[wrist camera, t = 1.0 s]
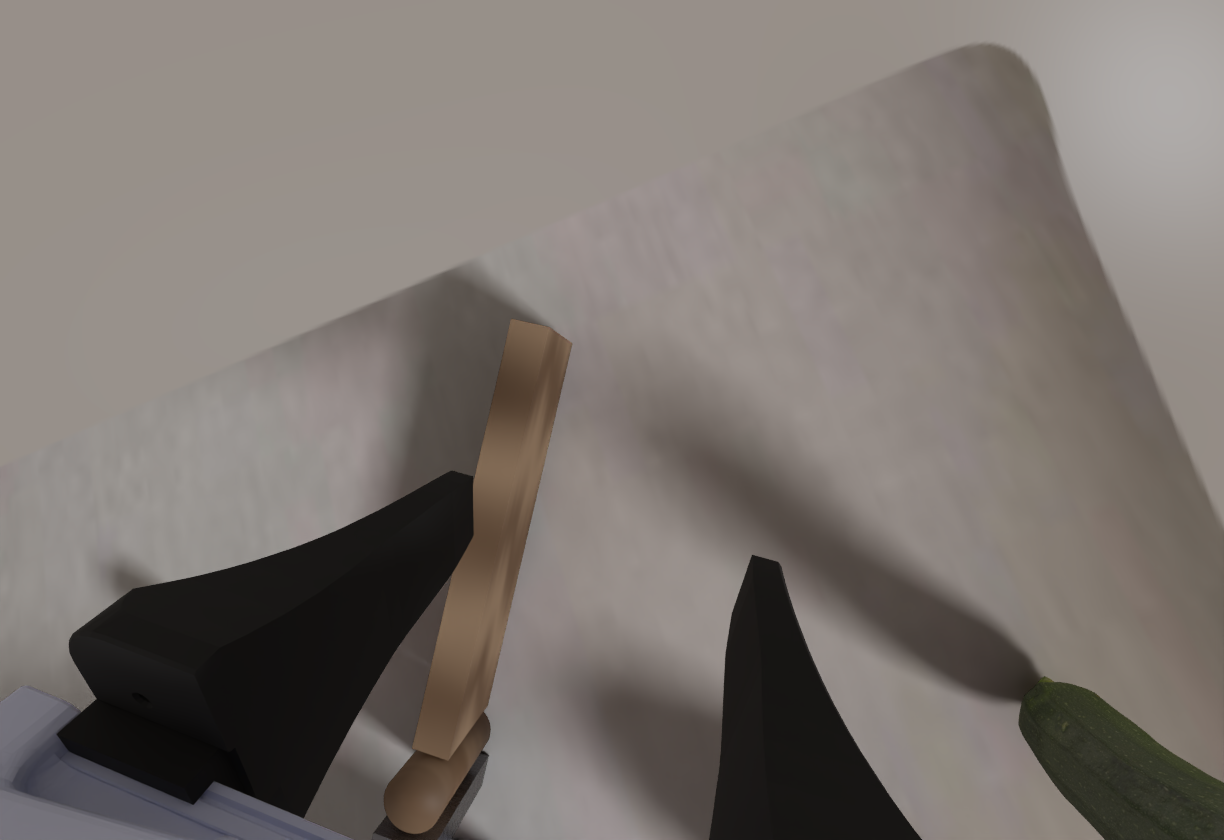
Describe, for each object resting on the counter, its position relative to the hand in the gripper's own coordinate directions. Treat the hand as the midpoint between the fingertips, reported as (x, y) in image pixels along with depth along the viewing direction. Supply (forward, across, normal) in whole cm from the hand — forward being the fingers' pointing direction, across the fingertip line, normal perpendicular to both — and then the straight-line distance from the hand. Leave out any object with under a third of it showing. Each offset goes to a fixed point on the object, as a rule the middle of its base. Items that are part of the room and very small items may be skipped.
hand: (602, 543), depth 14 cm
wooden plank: (+8, +6, +10) cm, 15 cm away
